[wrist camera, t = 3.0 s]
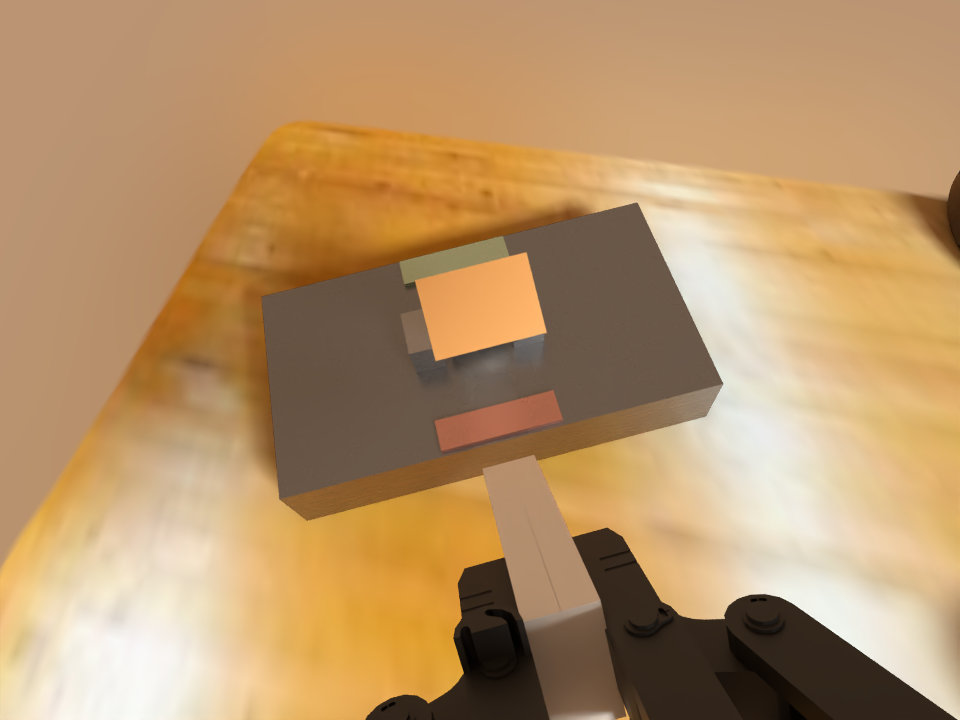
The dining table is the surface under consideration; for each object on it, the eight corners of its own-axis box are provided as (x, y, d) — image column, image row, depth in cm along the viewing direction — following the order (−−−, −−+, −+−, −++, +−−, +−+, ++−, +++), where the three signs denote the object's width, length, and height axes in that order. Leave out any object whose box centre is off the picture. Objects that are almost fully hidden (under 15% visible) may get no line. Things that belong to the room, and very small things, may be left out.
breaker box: (629, 246, 41) (641, 177, 36) (705, 416, 35) (733, 364, 30) (286, 332, 40) (247, 276, 35) (307, 520, 34) (263, 486, 29)
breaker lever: (498, 290, 34) (526, 252, 20) (510, 338, 34) (546, 332, 20) (431, 307, 34) (414, 280, 20) (444, 355, 34) (435, 361, 20)
